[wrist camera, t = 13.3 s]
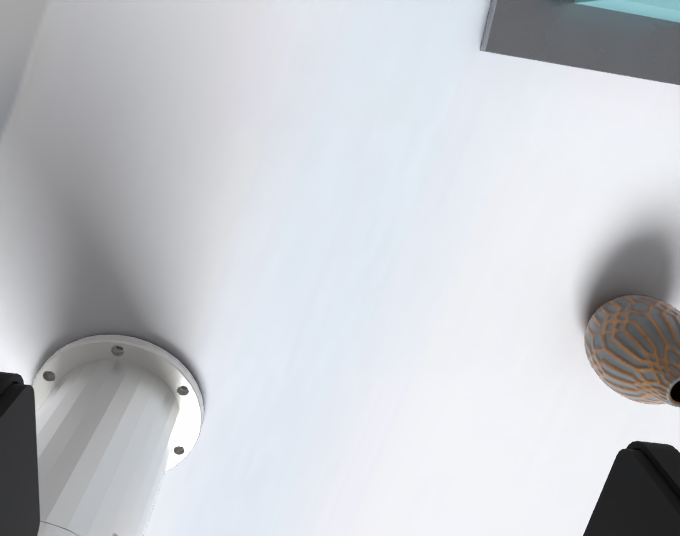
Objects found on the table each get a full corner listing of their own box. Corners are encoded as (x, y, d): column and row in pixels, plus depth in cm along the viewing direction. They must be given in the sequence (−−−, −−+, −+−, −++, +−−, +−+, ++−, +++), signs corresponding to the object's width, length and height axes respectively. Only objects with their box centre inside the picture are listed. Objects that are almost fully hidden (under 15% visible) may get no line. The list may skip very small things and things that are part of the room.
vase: (589, 274, 42) (656, 333, 34) (677, 289, 42) (763, 351, 34) (558, 356, 44) (612, 429, 36) (641, 369, 45) (713, 444, 37)
